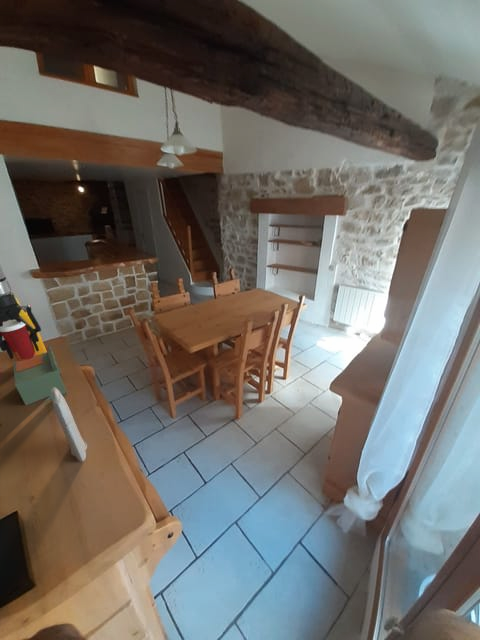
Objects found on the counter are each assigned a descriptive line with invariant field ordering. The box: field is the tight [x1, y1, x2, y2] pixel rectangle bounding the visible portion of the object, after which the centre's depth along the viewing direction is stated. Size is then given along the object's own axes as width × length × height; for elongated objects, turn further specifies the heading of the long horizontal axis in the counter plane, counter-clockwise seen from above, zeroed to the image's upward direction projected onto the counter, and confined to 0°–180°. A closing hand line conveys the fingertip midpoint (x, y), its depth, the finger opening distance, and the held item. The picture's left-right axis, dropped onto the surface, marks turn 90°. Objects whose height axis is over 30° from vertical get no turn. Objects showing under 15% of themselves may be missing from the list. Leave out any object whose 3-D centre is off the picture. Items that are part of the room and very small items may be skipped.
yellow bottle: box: [14, 296, 48, 355], centre depth 109 cm, size 9×9×29 cm
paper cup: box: [0, 320, 36, 361], centre depth 89 cm, size 8×8×14 cm
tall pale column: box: [51, 387, 88, 463], centre depth 69 cm, size 11×4×22 cm, turn 40°
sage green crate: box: [13, 346, 68, 406], centre depth 94 cm, size 12×16×13 cm
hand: (25, 352), depth 92 cm, fingers closed on paper cup, 7 cm apart
